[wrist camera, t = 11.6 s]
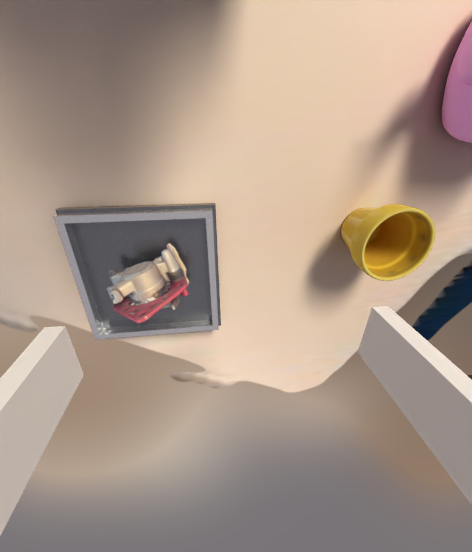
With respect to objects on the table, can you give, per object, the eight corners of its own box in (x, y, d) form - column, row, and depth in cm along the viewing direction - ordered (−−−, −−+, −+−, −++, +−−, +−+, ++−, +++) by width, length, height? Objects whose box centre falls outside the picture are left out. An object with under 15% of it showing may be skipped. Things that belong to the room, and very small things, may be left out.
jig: (59, 208, 35) (48, 212, 33) (214, 203, 38) (215, 207, 35) (99, 331, 45) (92, 342, 43) (220, 321, 48) (221, 331, 45)
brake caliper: (138, 330, 42) (93, 336, 30) (124, 269, 44) (76, 252, 32) (203, 310, 42) (182, 308, 30) (186, 249, 44) (160, 225, 32)
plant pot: (317, 240, 42) (346, 263, 34) (356, 183, 39) (401, 193, 30) (360, 265, 46) (397, 292, 37) (400, 214, 42) (452, 231, 33)
